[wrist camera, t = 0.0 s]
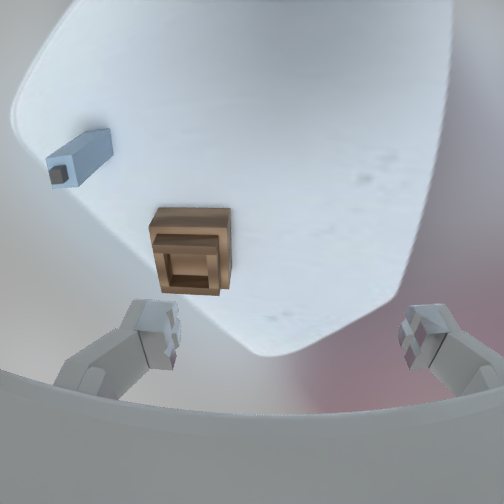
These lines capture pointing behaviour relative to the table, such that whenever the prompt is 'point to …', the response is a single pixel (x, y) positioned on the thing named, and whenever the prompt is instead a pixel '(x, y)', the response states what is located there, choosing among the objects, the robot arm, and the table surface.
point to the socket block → (192, 249)
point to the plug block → (79, 158)
